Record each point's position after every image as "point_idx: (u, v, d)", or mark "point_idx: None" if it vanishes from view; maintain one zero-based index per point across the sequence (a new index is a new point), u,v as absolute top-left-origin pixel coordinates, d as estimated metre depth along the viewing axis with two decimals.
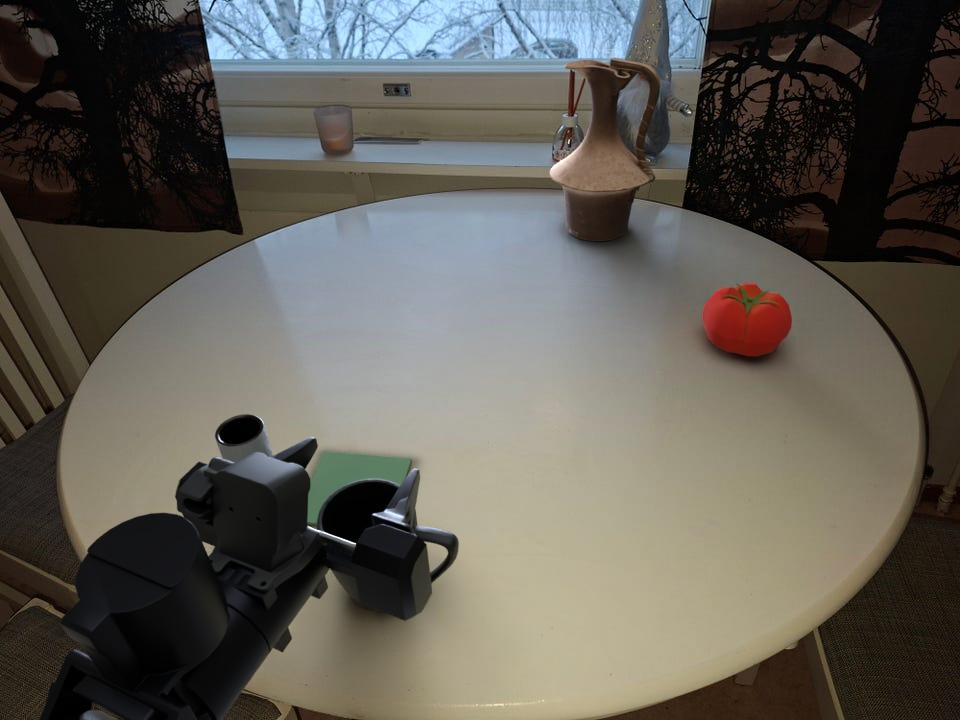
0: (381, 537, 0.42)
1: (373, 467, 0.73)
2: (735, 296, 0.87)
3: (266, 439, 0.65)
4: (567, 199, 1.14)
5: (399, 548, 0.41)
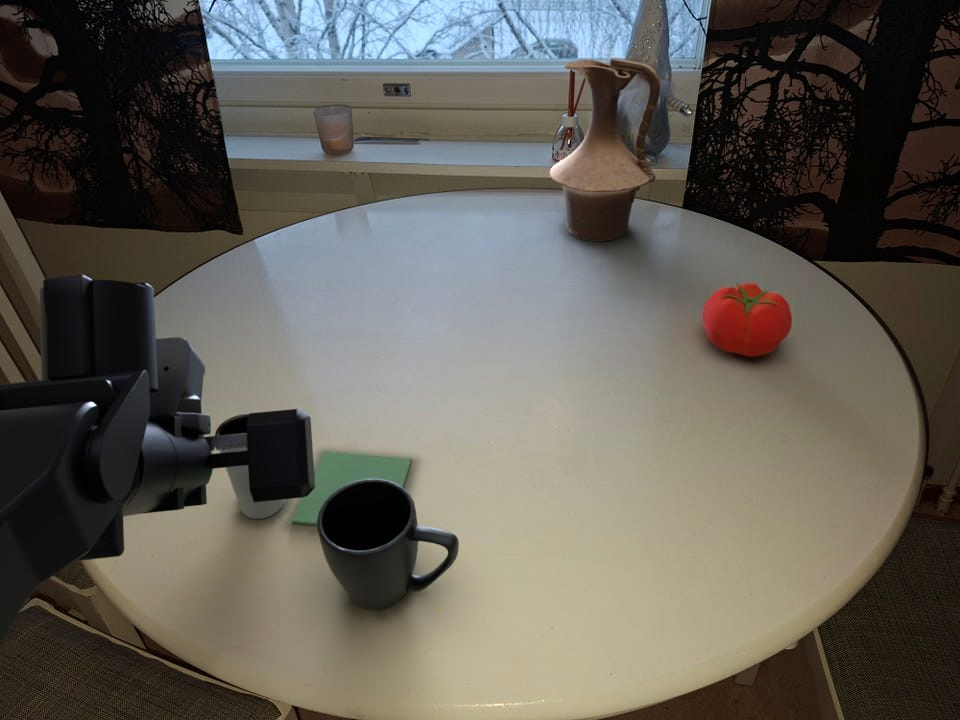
0: None
1: (373, 467, 0.73)
2: (735, 296, 0.87)
3: None
4: (567, 199, 1.14)
5: None
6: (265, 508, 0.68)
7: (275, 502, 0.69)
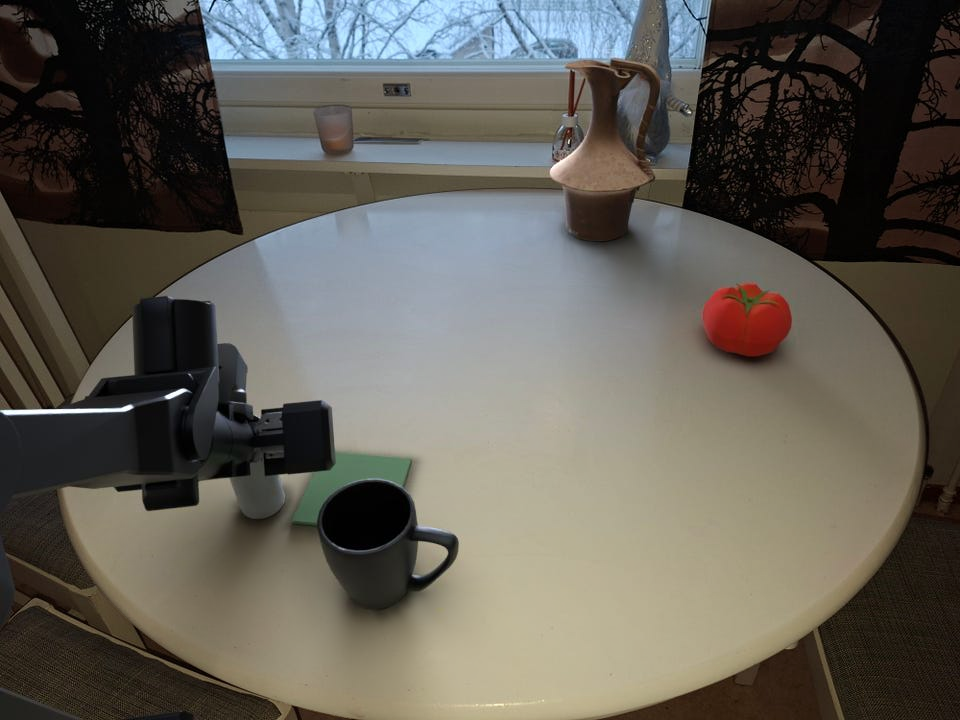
0: None
1: (373, 467, 0.73)
2: (735, 296, 0.87)
3: None
4: (567, 199, 1.14)
5: None
6: (265, 508, 0.68)
7: (275, 502, 0.69)
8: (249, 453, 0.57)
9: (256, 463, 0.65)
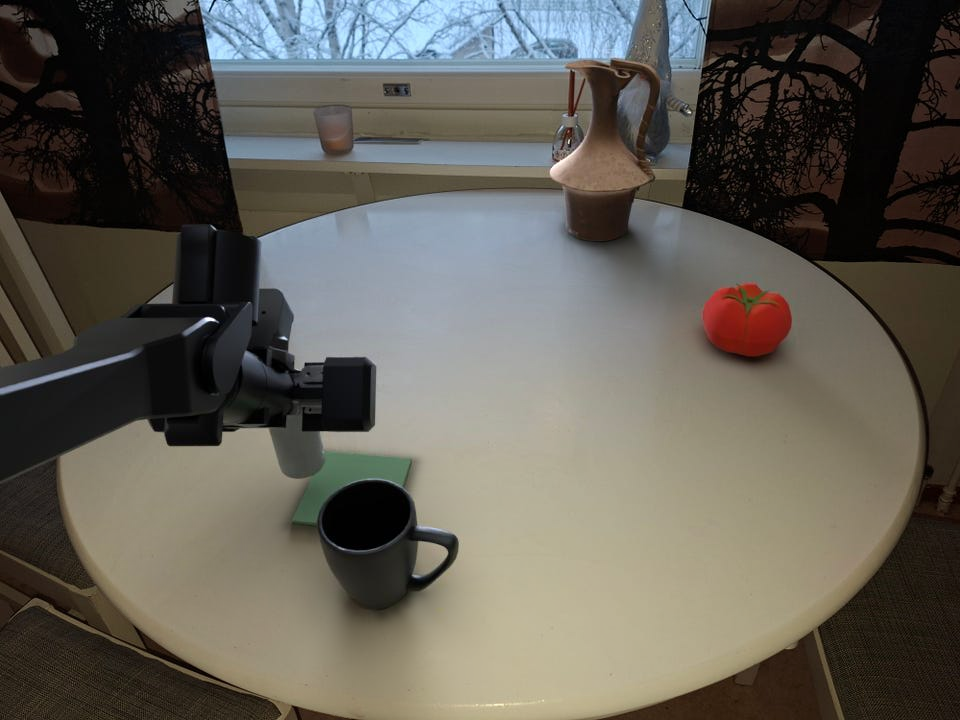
0: None
1: (373, 467, 0.73)
2: (735, 296, 0.87)
3: None
4: (567, 199, 1.14)
5: None
6: (303, 468, 0.66)
7: (314, 463, 0.66)
8: (286, 404, 0.55)
9: (296, 419, 0.62)
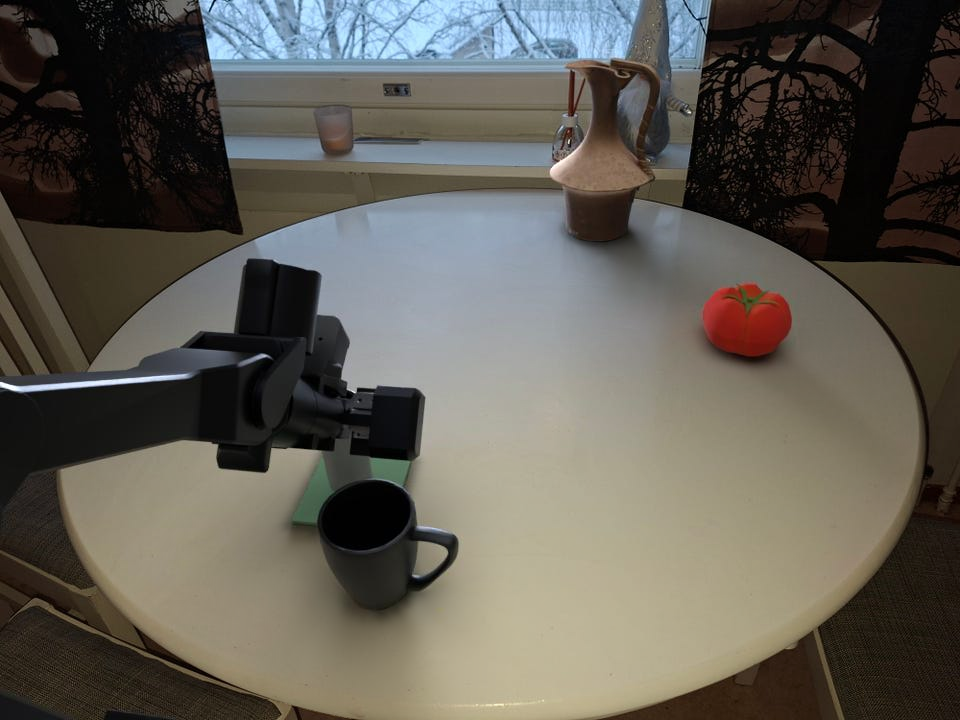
0: None
1: (373, 467, 0.73)
2: (735, 296, 0.87)
3: None
4: (567, 199, 1.14)
5: None
6: None
7: None
8: (335, 429, 0.57)
9: (346, 440, 0.64)
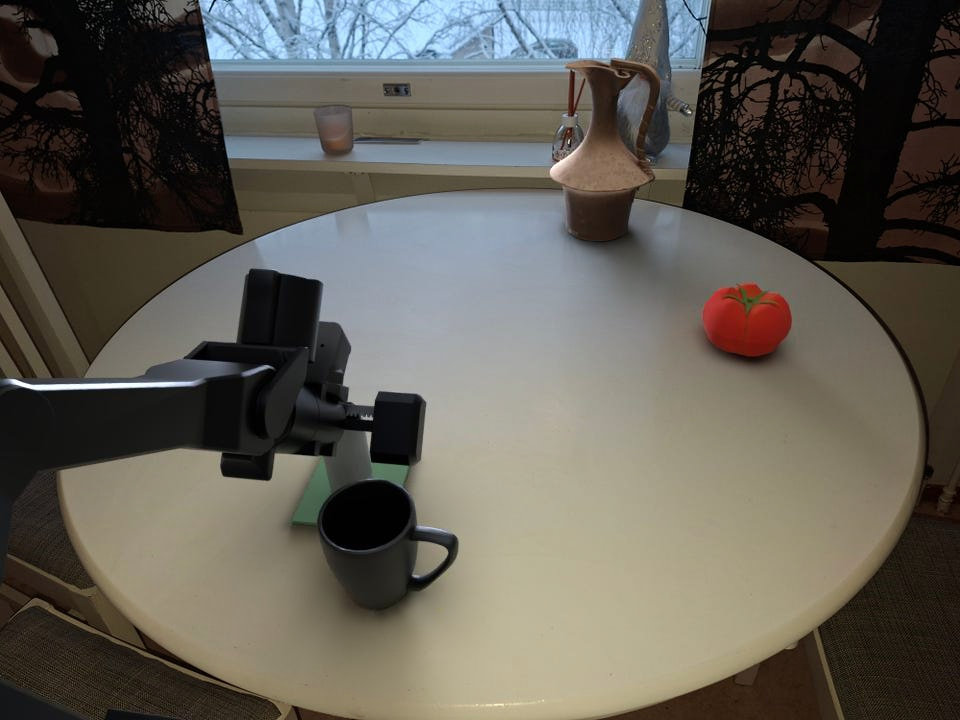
0: None
1: (373, 467, 0.73)
2: (735, 296, 0.87)
3: None
4: (567, 199, 1.14)
5: None
6: None
7: None
8: (337, 435, 0.57)
9: (349, 451, 0.65)
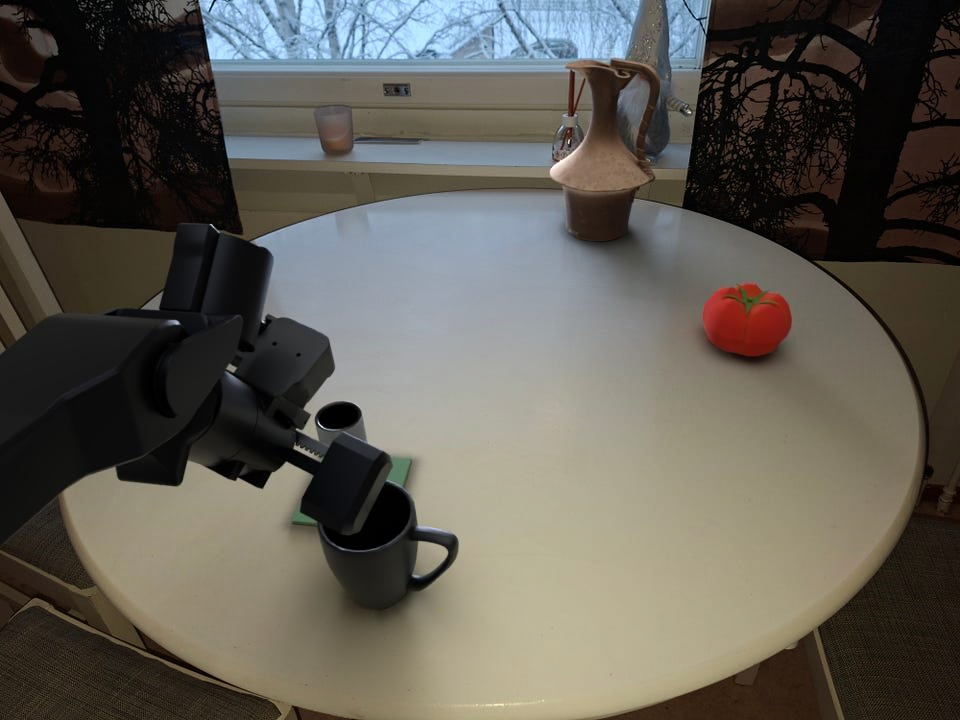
0: None
1: None
2: (735, 296, 0.87)
3: (362, 429, 0.65)
4: (567, 199, 1.14)
5: None
6: None
7: None
8: (273, 464, 0.46)
9: None
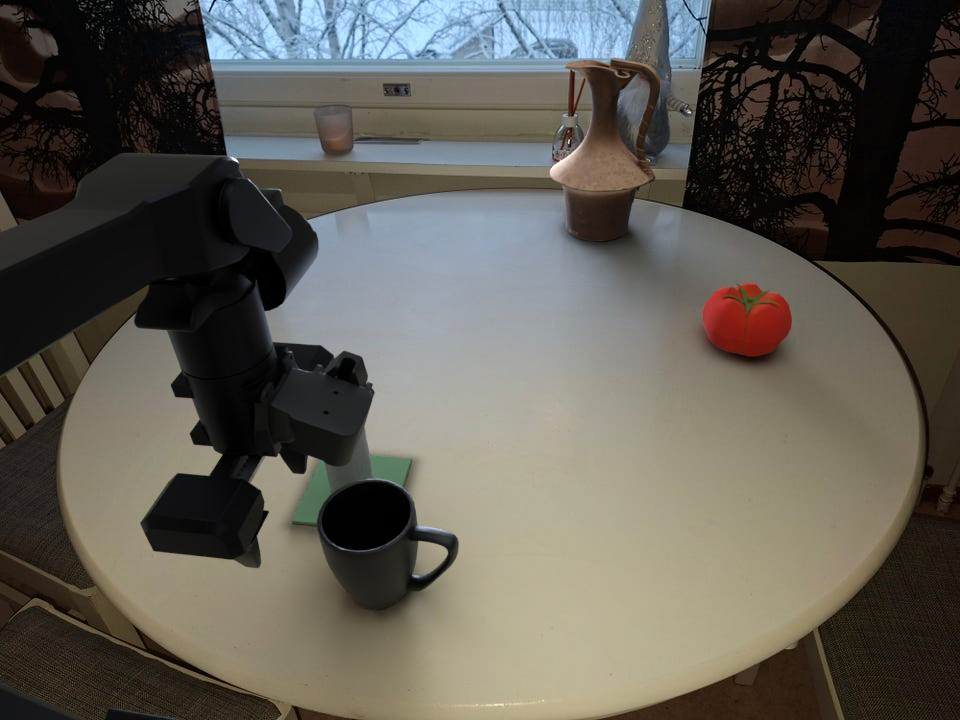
0: (255, 515, 0.41)
1: (373, 467, 0.73)
2: (735, 296, 0.87)
3: None
4: (567, 199, 1.14)
5: (244, 531, 0.40)
6: None
7: None
8: (214, 439, 0.44)
9: None
